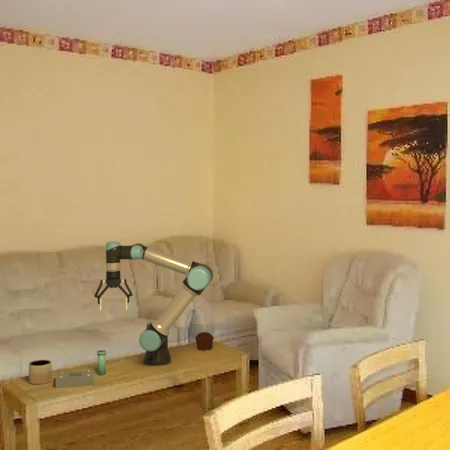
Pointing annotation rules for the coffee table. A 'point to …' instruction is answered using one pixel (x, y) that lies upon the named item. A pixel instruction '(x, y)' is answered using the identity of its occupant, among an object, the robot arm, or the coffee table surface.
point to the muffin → (204, 341)
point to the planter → (40, 372)
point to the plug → (101, 362)
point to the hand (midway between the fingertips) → (113, 309)
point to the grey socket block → (74, 378)
